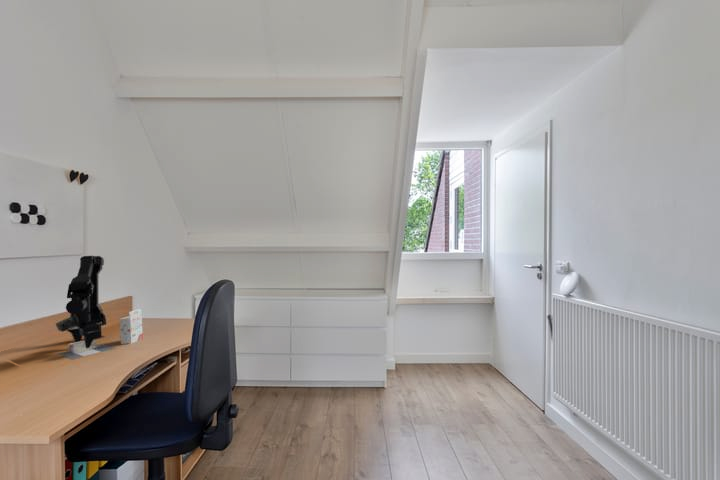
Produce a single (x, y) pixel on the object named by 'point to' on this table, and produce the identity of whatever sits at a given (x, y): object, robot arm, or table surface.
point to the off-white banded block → (81, 346)
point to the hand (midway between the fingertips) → (82, 346)
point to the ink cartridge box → (131, 327)
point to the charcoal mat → (86, 352)
